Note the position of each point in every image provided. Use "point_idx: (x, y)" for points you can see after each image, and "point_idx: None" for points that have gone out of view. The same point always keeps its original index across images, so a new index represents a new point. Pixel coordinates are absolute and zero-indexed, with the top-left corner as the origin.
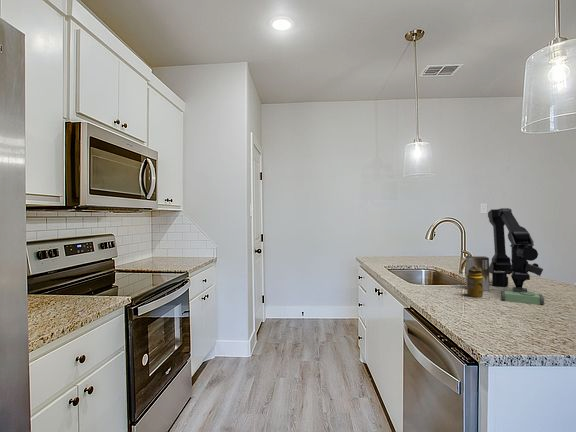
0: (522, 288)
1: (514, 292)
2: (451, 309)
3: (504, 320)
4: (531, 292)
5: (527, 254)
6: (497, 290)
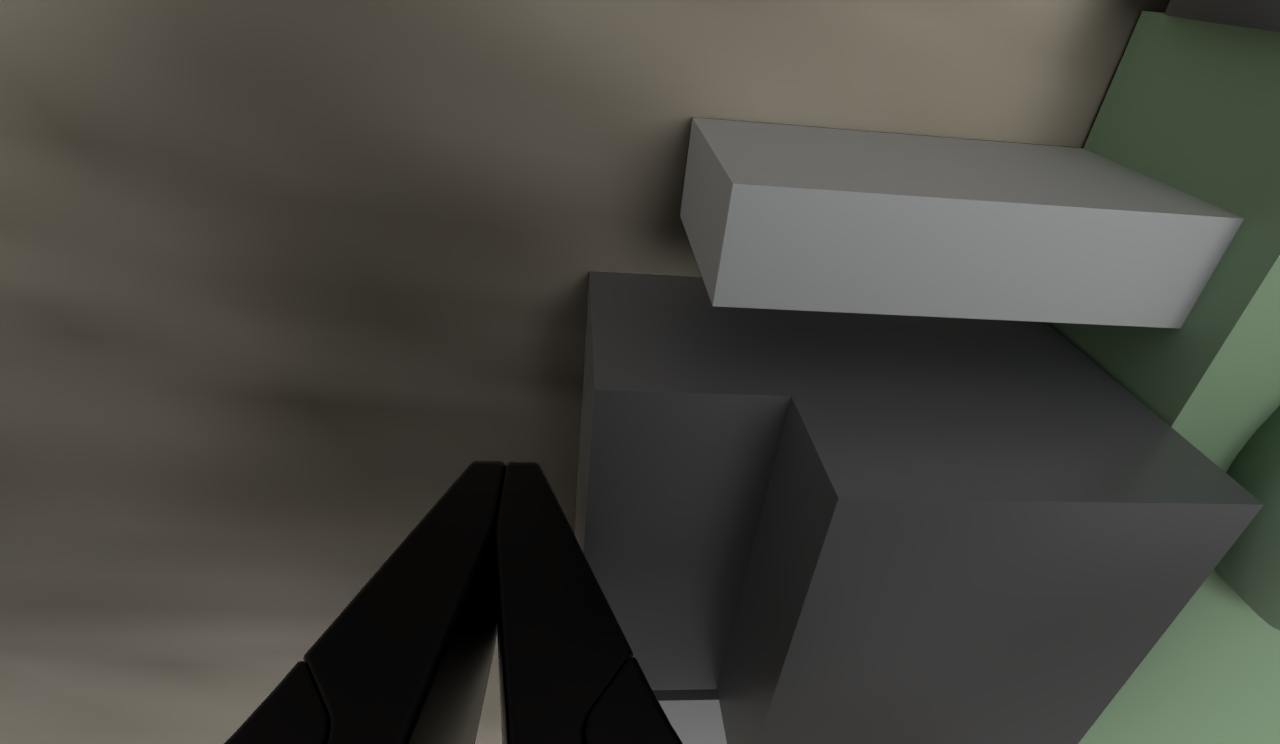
0: (983, 618)
1: (1137, 686)
2: None
3: None
4: (835, 217)
5: None
6: (162, 734)
